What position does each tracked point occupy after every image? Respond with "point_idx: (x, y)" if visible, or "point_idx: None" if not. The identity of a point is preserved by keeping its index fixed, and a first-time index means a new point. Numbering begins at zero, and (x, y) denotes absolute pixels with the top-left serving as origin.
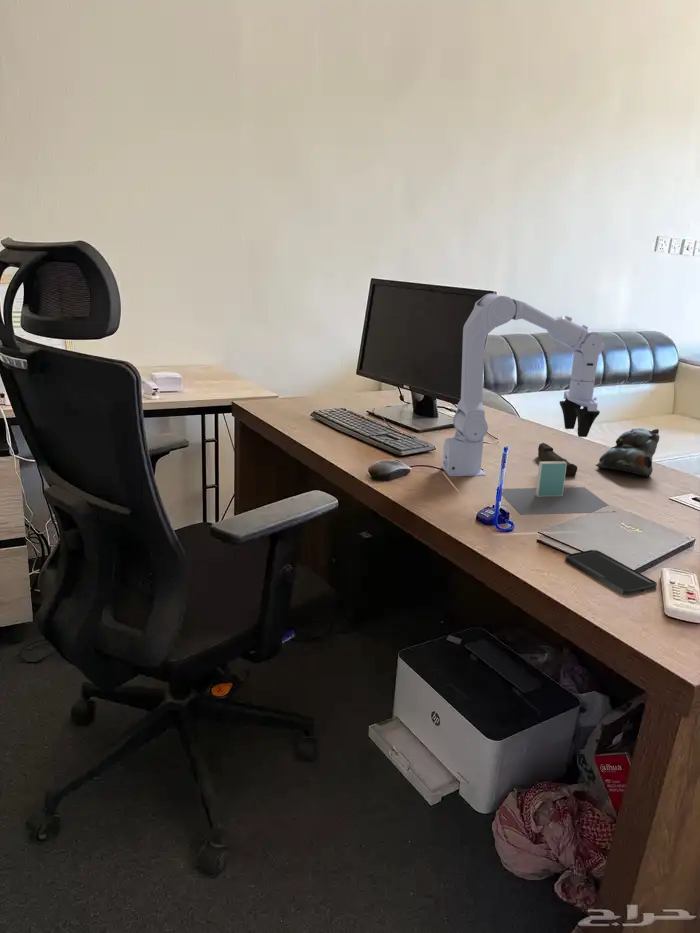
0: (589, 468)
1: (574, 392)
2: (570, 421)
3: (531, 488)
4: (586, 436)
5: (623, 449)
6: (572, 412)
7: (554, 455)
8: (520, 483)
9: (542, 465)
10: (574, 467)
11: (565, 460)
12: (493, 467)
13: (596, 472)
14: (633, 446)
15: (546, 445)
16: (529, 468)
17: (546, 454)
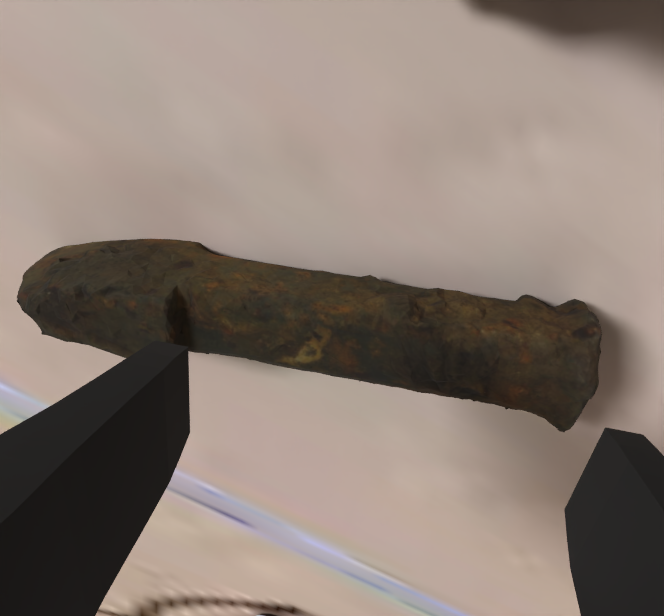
0: (399, 12)
1: None
2: (136, 476)
3: None
4: (647, 445)
5: None
6: (26, 609)
7: (305, 355)
8: (536, 587)
9: None
10: (597, 356)
11: (463, 364)
12: (270, 562)
13: (524, 18)
14: None
15: (92, 318)
16: (313, 434)
17: (226, 354)
